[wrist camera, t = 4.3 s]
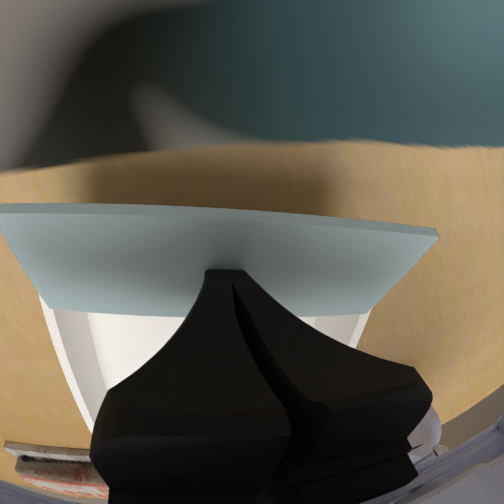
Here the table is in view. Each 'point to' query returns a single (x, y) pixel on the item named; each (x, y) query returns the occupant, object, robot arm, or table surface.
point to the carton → (136, 347)
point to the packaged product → (58, 469)
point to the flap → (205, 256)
